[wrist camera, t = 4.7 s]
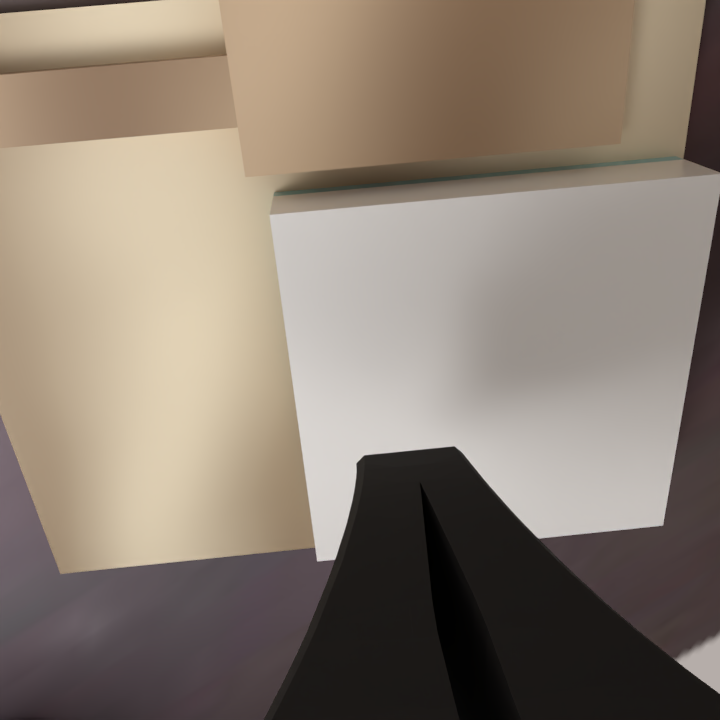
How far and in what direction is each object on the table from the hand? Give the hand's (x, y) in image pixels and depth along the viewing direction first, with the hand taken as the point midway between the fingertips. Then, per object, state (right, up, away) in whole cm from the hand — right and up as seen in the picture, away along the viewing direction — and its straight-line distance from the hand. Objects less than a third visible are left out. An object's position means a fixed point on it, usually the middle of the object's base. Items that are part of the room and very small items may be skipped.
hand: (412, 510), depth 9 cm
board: (-1, +3, +4) cm, 5 cm away
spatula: (-2, +6, +1) cm, 7 cm away
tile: (-2, +1, +3) cm, 4 cm away
